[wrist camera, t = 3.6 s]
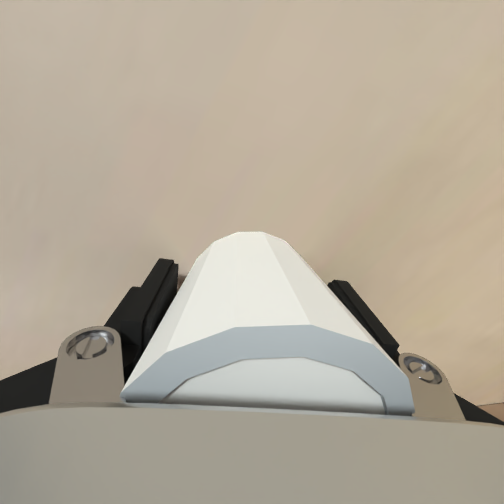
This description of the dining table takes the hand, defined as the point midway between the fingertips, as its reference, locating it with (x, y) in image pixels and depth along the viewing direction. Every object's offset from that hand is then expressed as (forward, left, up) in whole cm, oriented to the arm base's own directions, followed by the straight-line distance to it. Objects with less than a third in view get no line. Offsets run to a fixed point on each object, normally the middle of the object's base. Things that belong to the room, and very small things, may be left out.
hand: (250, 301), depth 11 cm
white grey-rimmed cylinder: (0, 0, -1) cm, 1 cm away
